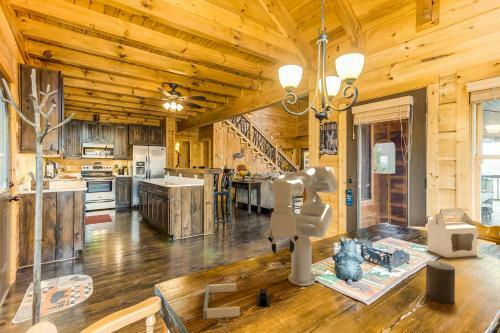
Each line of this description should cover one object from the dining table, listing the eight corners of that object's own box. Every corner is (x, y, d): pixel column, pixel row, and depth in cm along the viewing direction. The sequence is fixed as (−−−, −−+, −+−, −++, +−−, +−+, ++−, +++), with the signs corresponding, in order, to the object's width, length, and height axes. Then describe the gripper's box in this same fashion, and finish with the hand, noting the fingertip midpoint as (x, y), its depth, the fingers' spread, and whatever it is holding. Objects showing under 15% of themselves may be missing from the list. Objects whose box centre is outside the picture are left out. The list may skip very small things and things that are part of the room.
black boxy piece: (271, 311, 96) (271, 299, 96) (253, 310, 97) (253, 298, 97) (271, 294, 108) (271, 283, 108) (255, 293, 109) (254, 283, 109)
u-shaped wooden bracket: (236, 289, 111) (236, 283, 111) (239, 316, 92) (239, 308, 92) (206, 291, 110) (206, 284, 110) (203, 318, 90) (203, 310, 90)
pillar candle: (447, 306, 98) (447, 268, 98) (420, 294, 107) (421, 259, 107) (459, 300, 102) (460, 264, 102) (433, 289, 111) (433, 256, 111)
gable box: (446, 257, 148) (446, 211, 148) (427, 250, 161) (427, 207, 161) (477, 255, 152) (477, 210, 151) (456, 248, 165) (456, 206, 164)
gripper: (300, 207, 108) (300, 248, 108) (260, 208, 106) (261, 250, 106) (306, 210, 101) (306, 254, 101) (263, 211, 99) (264, 256, 99)
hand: (282, 251), depth 104 cm, fingers open, 6 cm apart
